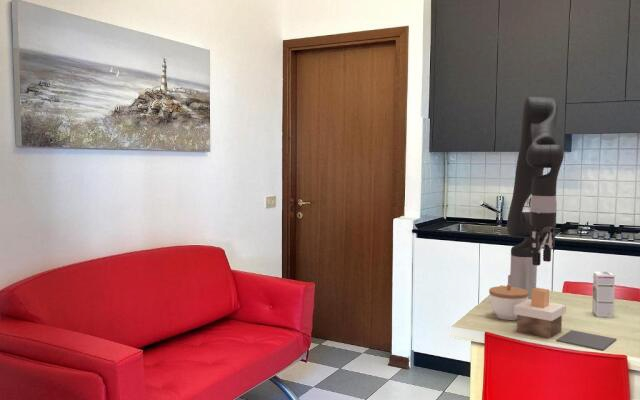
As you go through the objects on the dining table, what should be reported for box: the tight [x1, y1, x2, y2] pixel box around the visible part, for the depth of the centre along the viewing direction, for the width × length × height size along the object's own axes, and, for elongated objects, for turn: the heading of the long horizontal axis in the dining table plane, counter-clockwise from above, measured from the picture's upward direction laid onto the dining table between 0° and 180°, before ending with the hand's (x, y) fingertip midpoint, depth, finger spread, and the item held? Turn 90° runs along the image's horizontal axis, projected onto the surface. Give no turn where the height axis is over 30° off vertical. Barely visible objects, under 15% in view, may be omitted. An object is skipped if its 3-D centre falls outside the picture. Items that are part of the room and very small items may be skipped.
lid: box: [514, 287, 567, 321], centre depth 186 cm, size 12×12×8 cm
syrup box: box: [591, 271, 616, 318], centre depth 206 cm, size 6×6×14 cm
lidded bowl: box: [488, 283, 529, 321], centre depth 203 cm, size 13×13×11 cm
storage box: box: [516, 315, 563, 339], centre depth 187 cm, size 10×10×7 cm
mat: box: [555, 329, 617, 351], centre depth 178 cm, size 13×13×1 cm
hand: (541, 263), depth 186 cm, fingers open, 8 cm apart
